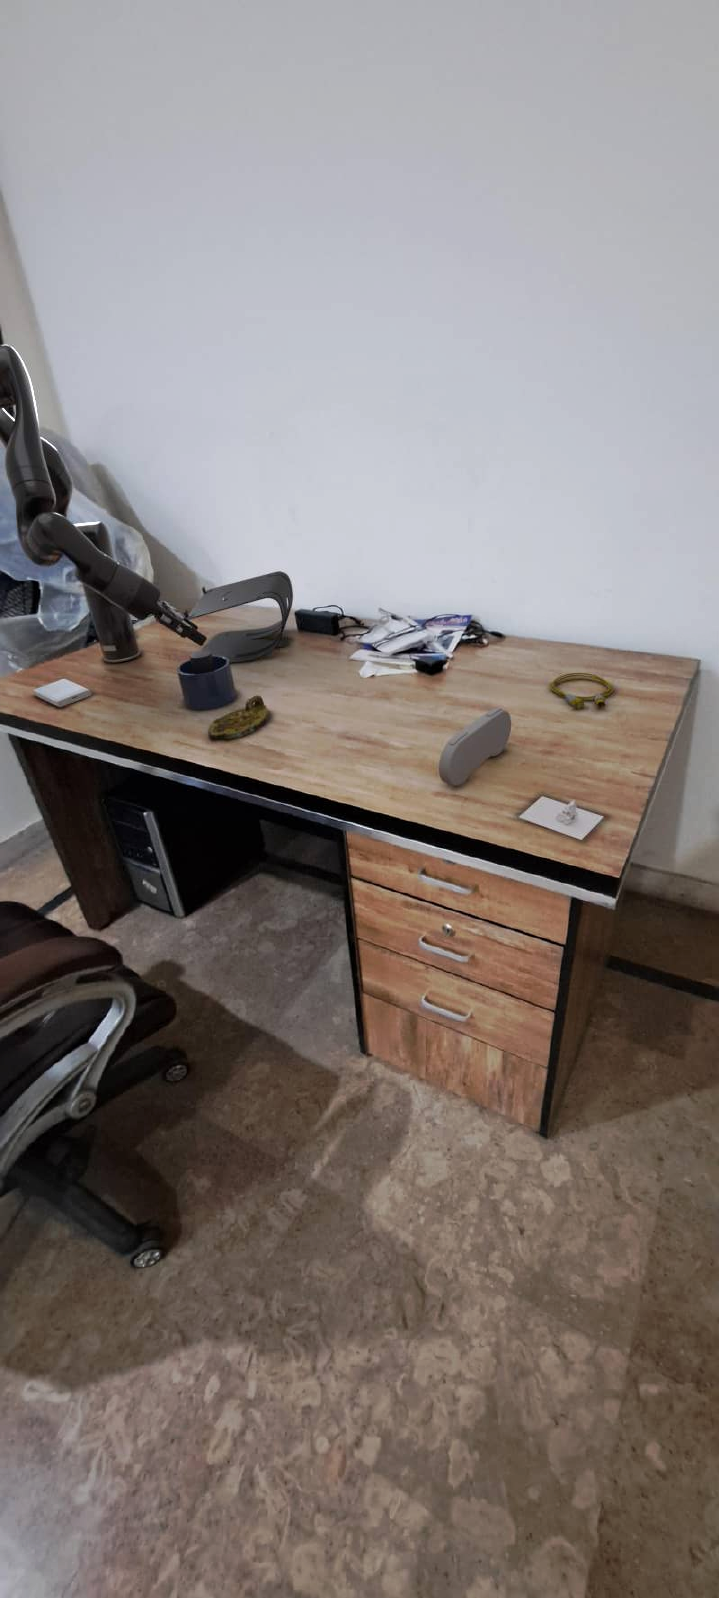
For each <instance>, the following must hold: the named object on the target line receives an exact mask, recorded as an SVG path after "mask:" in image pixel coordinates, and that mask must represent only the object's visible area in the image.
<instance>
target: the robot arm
mask: <svg viewBox="0 0 719 1598" xmlns="http://www.w3.org/2000/svg"><path fill="white" fill-rule="evenodd" d="M14 406H15V408H14V409H15V415H14V418H13V417H12V416H11V415H10V414H9V413H8V412H7V411H6V410H5V408H11V407H14ZM0 442H1V444H2V445H3V447H4V449H5V456H4V457H5V458H4V468H5V473H6V477H7V480H8V484H9V488H10V491H11V493H12V497H13V500H14V503H15V520H16V521H15V522H16V529H17V538H18V542H19V545H20V549H21V551H22V552H23V553H24V555H25V556H26V558H27V559H28V560H29V561H30V562H32V563H33V564H35V565H37V566H39V567H43V568H50V567H53V566H55V565H56V564H57V563H58V562H59V561H61V559H62V558H63V557H64V556H65V557H66V558H67V559H68V560H69V561H70V562H71V563H72V564H73V571H72V573H73V577H74V578H75V579H76V580H77V581H78V582H79V583H81V584H82V589H83V593H84V596H85V597H84V598H85V600H86V603H87V605H88V609H89V613H90V616H91V619H92V623H93V627H94V629H95V633H96V636H97V640H98V643H99V646H100V650H101V653H102V655H103V656H102V657H103V661H104V662H106V663H110V664H111V663H112V664H115V663H116V664H117V663H123V662H128V661H131V660H134V659H136V658H138V657H139V656H140V655H141V649H140V646H139V643H138V639H137V636H136V632H135V628H134V623H135V622H137V621H145V620H147V619H148V618H149V616H151V615H152V616H153V618H154V619H155V621H156V622H157V623H158V624H159V625H162V626H164V627H165V628H167V629H168V630H169V631H170V632H173V633H175V634H177V635H178V636H179V637H180V638H182V639H186V638H187V639H188V640H190V641H191V642H193V643H195V644H196V645H198V646H200V647H202V646H204V644H205V643H206V641H207V640H208V639H207V636H206V635H204V634H203V633H202V632H200V631H199V630H198V629H199V627H198V625H197V624H195V623H194V622H193V621H191V620H190V619H189V620H188V619H186V618H185V616H184V614H182V613H181V612H180V611H179V609H177V608H175V606H172V605H171V604H170V603H168V602H167V601H165V600H161V599H160V597H161V594H162V593H161V592H162V591H161V589H160V587H159V586H157V585H156V584H154V583H153V582H152V581H149V580H148V579H147V578H145V577H144V576H142V575H140V574H139V573H138V572H135V571H134V570H133V569H131V568H130V567H128V566H126V565H124V564H122V563H120V562H118V561H117V557H116V552H115V548H114V543H113V540H112V535H111V532H110V530H109V528H108V526H107V525H106V523H104V522H103V521H90V522H80V523H73V522H72V521H71V520H70V519H69V516H68V515H69V514H68V513H69V508H70V504H71V500H72V497H73V493H74V480H73V477H72V474H71V472H70V471H69V468H68V467H67V465H66V463H65V461H64V459H63V457H62V455H61V454H60V452H59V450H58V449H57V448H56V447H55V446H54V445H52V443H50V442H48V440H46V439H44V438H43V437H42V436H41V429H40V423H39V417H38V412H37V405H36V400H35V395H34V389H33V385H32V382H31V378H30V375H29V373H28V370H27V368H26V366H25V363H24V361H23V360H22V357H21V356H20V355H19V353H18V352H17V351H16V349H15V348H14V347H12V345H9V344H0ZM131 616H132V617H133V618H137V619H138V620H132V617H131ZM181 629H182V630H181Z"/></svg>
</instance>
